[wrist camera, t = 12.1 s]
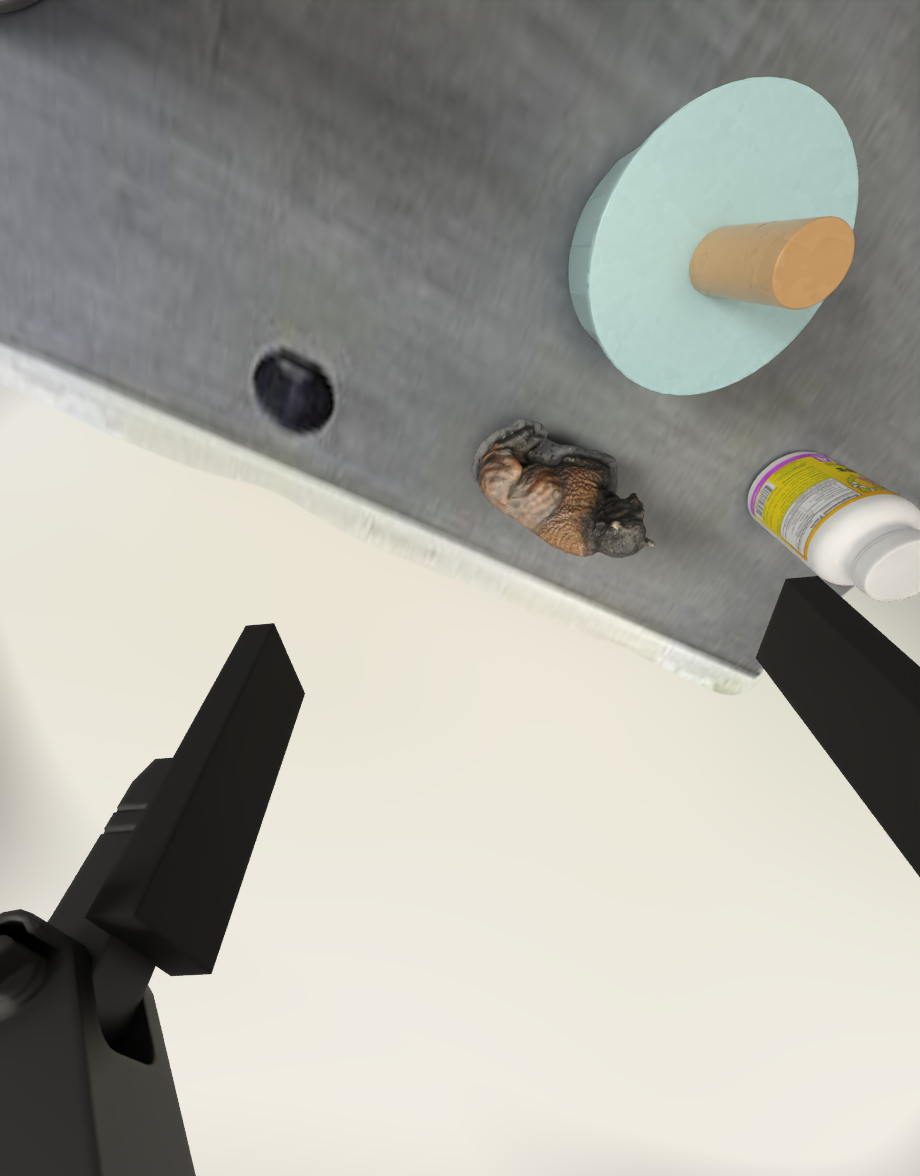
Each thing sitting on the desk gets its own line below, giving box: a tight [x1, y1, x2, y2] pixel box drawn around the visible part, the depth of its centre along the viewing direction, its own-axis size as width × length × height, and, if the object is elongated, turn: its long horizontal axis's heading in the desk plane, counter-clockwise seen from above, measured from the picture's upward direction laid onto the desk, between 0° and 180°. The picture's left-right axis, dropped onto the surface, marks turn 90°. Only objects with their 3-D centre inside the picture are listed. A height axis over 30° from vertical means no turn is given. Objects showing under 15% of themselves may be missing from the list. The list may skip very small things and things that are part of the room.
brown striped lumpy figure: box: [472, 419, 654, 558], centre depth 33 cm, size 12×7×10 cm, turn 73°
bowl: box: [568, 146, 640, 345], centre depth 26 cm, size 11×11×8 cm
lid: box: [587, 77, 859, 395], centre depth 20 cm, size 13×13×9 cm
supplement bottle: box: [747, 451, 920, 602], centre depth 34 cm, size 7×7×13 cm
